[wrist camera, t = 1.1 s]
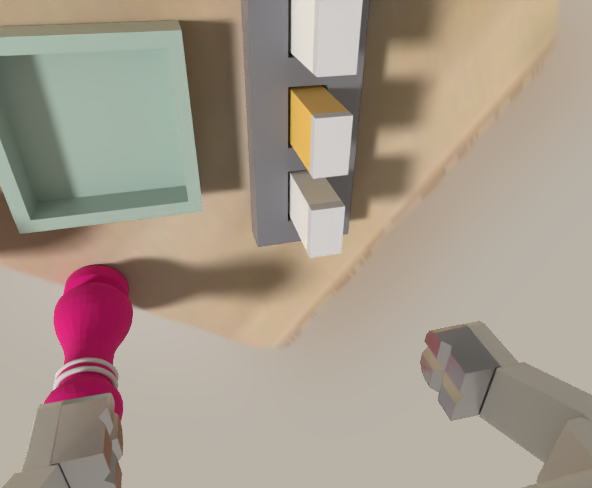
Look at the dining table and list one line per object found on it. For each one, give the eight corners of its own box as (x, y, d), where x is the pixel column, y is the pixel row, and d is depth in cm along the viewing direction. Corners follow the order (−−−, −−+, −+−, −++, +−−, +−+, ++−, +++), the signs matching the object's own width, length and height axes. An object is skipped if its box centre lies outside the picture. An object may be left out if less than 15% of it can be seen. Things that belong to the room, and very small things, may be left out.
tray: (-40, 27, 34) (-58, 39, 31) (178, 20, 38) (181, 30, 34) (28, 210, 43) (19, 234, 40) (198, 191, 47) (203, 211, 43)
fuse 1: (282, -20, 38) (319, -3, 30) (317, -21, 39) (363, -4, 31) (282, 45, 41) (316, 77, 33) (315, 43, 41) (356, 74, 34)
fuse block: (237, -65, 35) (244, -63, 33) (360, -64, 38) (375, -62, 35) (252, 231, 51) (257, 246, 49) (338, 219, 53) (348, 233, 51)
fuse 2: (283, 160, 47) (311, 210, 39) (311, 158, 48) (345, 206, 40) (283, 203, 50) (310, 258, 42) (310, 200, 51) (341, 253, 43)
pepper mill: (50, 304, 49) (8, 486, 34) (73, 252, 47) (38, 424, 31) (119, 319, 53) (109, 491, 37) (143, 271, 50) (144, 435, 34)
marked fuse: (283, 80, 43) (315, 118, 35) (314, 78, 43) (353, 115, 35) (283, 132, 45) (313, 178, 38) (312, 129, 46) (348, 174, 38)
